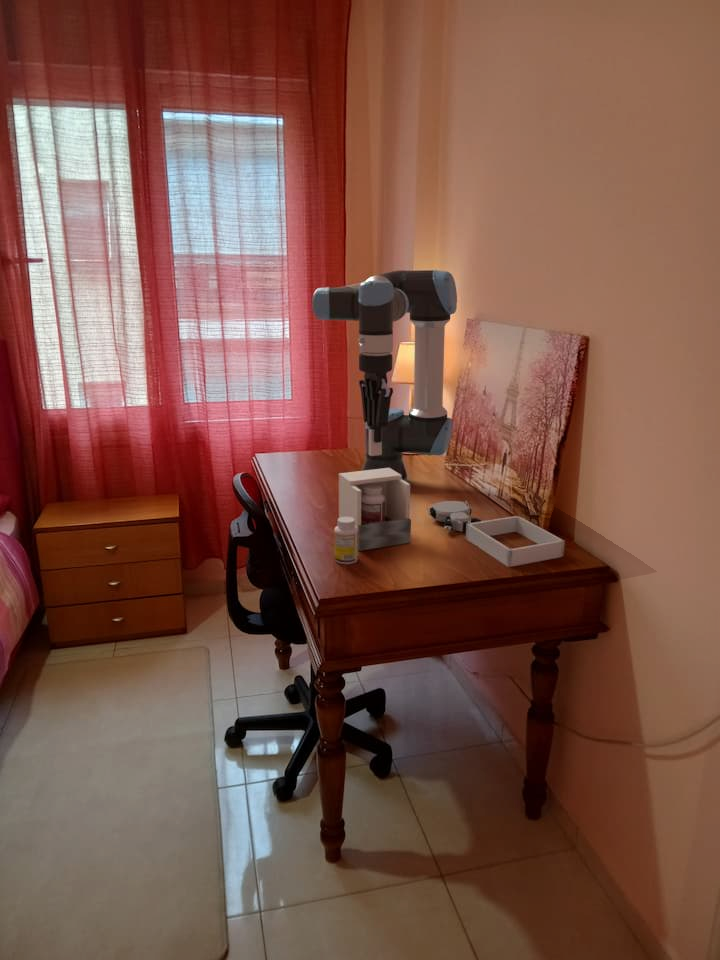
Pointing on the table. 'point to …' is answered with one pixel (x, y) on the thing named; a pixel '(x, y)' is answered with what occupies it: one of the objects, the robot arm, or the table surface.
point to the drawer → (384, 534)
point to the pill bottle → (372, 505)
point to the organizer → (544, 549)
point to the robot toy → (452, 514)
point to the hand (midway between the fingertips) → (375, 454)
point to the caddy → (392, 490)
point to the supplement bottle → (346, 541)
